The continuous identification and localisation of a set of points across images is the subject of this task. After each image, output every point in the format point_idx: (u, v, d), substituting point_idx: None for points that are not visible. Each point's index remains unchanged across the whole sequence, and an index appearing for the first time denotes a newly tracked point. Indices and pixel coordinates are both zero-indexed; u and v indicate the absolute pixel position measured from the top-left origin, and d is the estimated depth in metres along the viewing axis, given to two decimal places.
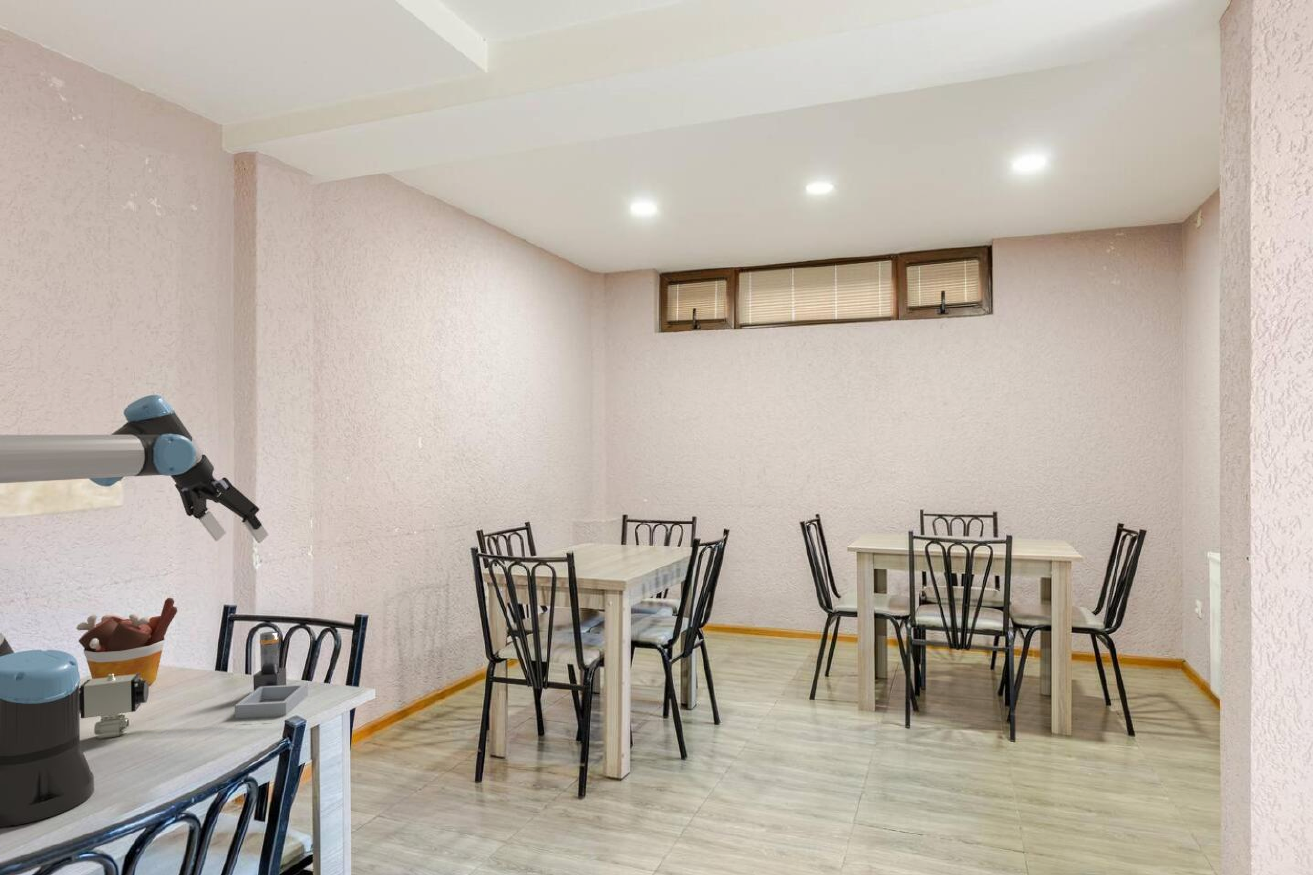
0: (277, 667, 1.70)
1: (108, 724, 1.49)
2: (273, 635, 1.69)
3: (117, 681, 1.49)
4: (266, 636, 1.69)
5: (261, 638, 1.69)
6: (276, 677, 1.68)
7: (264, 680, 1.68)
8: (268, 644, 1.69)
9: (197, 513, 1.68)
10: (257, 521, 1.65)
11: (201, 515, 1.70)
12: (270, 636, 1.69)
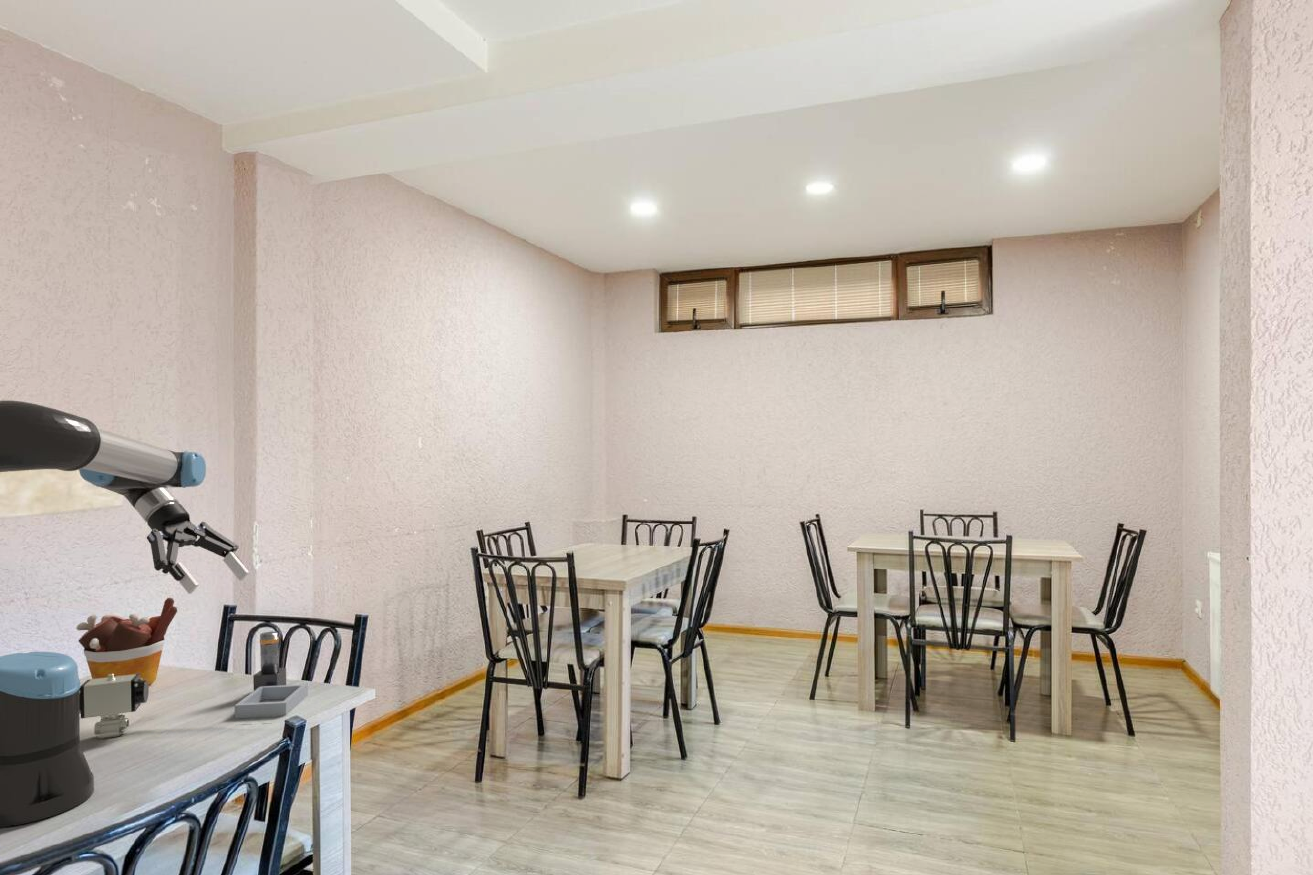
0: (277, 667, 1.70)
1: (108, 724, 1.49)
2: (273, 635, 1.69)
3: (117, 681, 1.49)
4: (266, 636, 1.69)
5: (261, 638, 1.69)
6: (276, 677, 1.68)
7: (264, 680, 1.68)
8: (268, 644, 1.69)
9: (175, 557, 1.62)
10: None
11: None
12: (270, 636, 1.69)
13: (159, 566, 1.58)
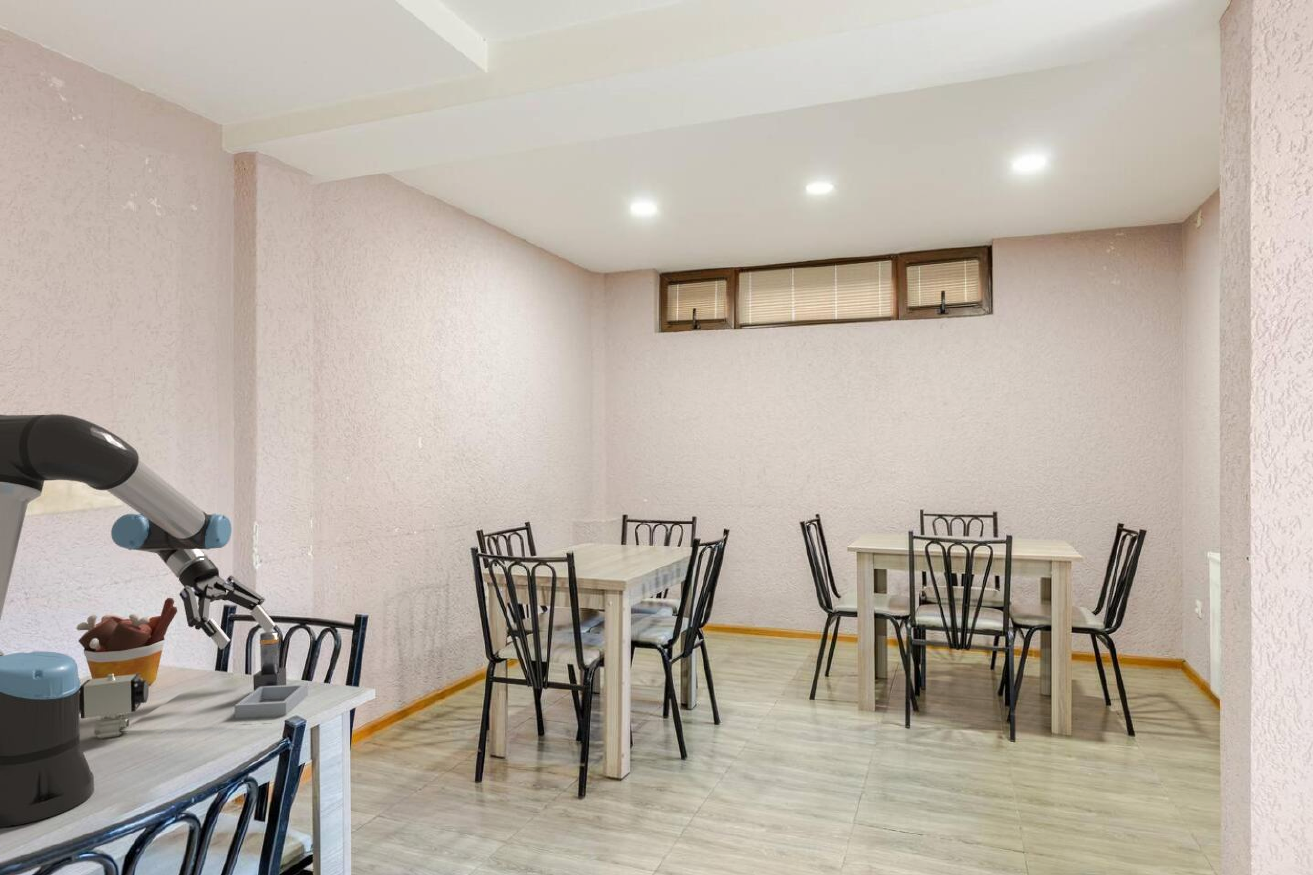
0: (277, 667, 1.70)
1: (108, 724, 1.49)
2: (273, 635, 1.69)
3: (117, 681, 1.49)
4: (266, 636, 1.69)
5: (261, 638, 1.69)
6: (276, 677, 1.68)
7: (264, 680, 1.68)
8: (268, 644, 1.69)
9: (207, 613, 1.68)
10: None
11: None
12: (270, 636, 1.69)
13: (192, 623, 1.65)
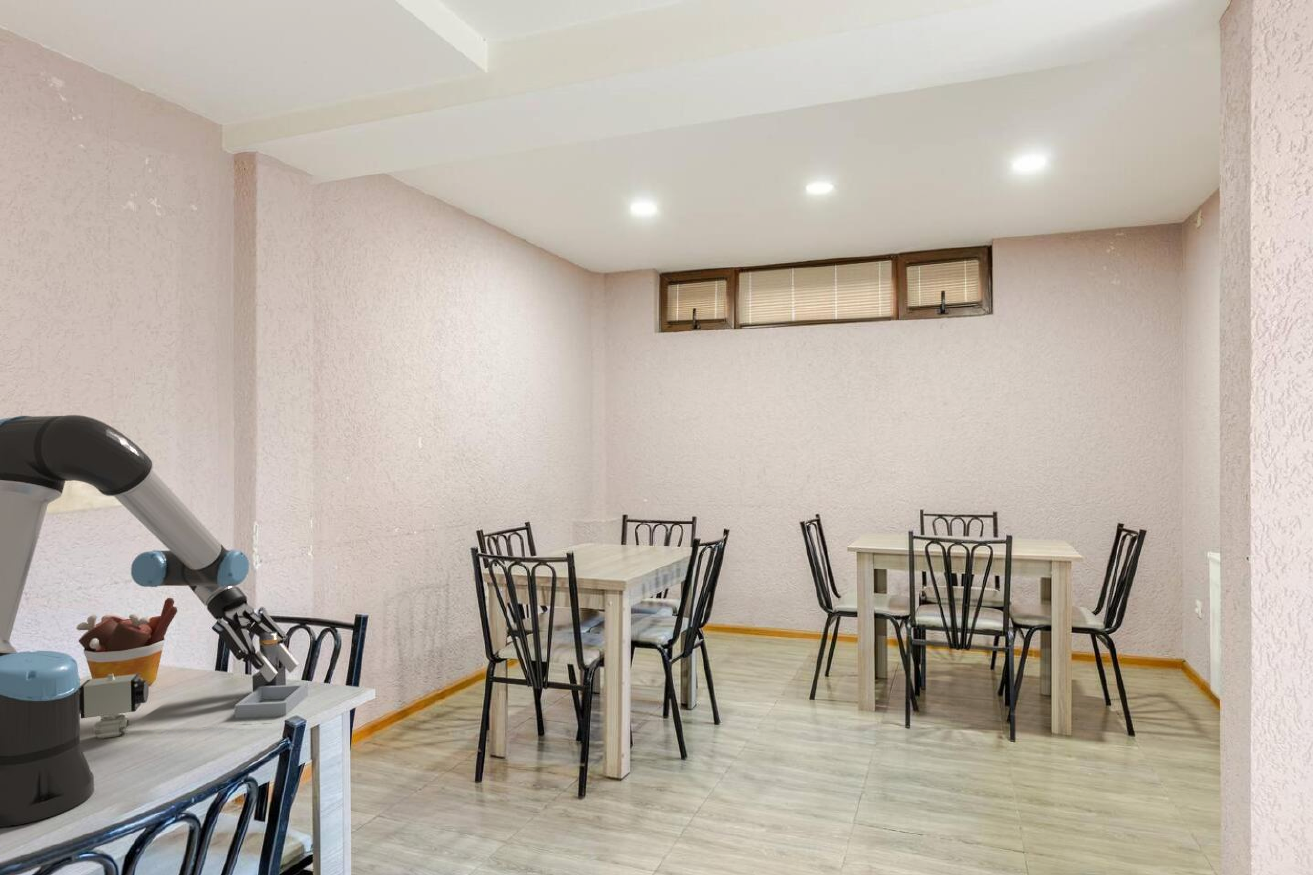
0: (276, 668, 1.70)
1: (108, 724, 1.49)
2: (272, 635, 1.69)
3: (117, 681, 1.49)
4: (265, 636, 1.68)
5: (260, 638, 1.69)
6: (275, 677, 1.68)
7: (263, 680, 1.68)
8: (267, 644, 1.68)
9: (252, 644, 1.67)
10: None
11: None
12: (269, 636, 1.69)
13: (242, 656, 1.65)
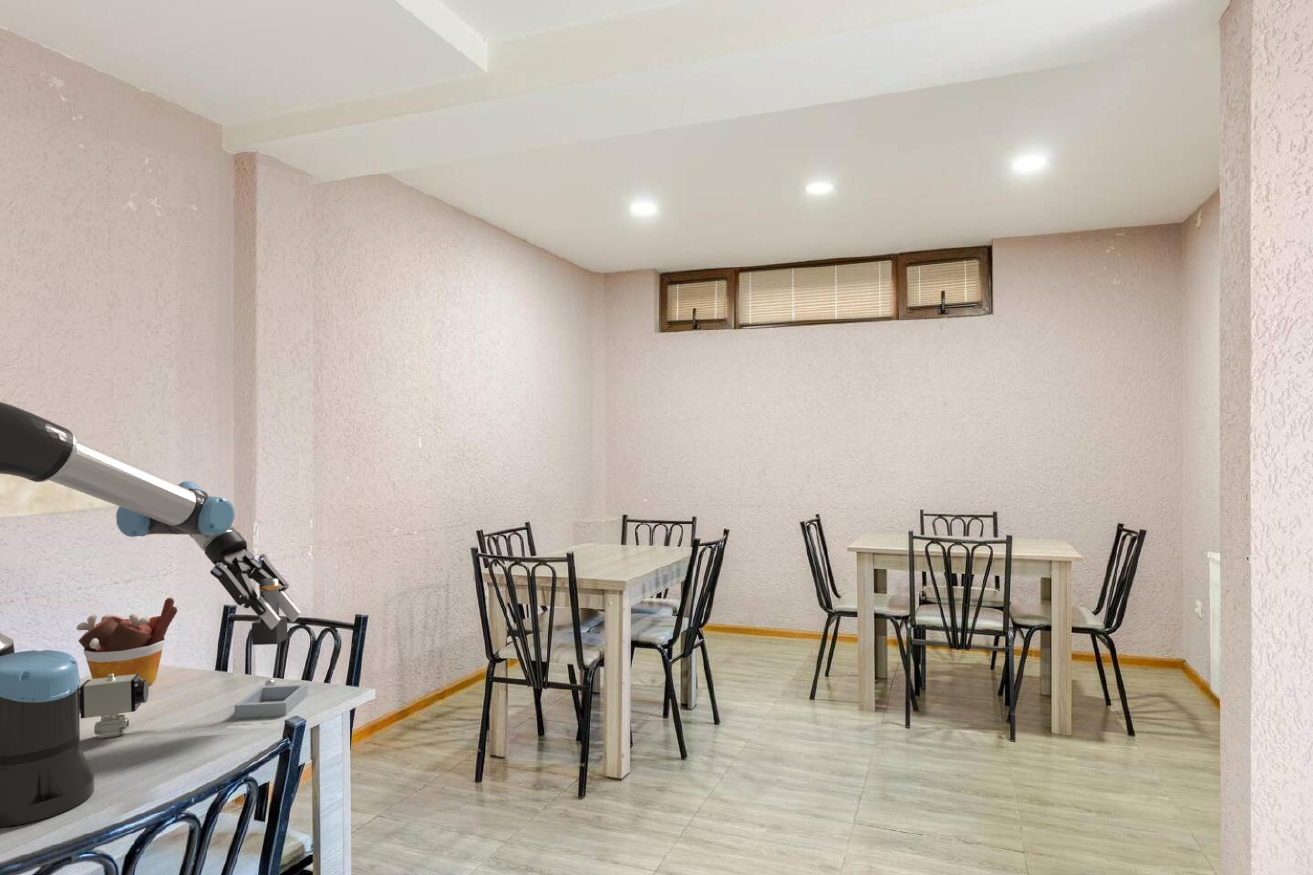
0: None
1: (108, 724, 1.49)
2: (273, 581, 1.59)
3: (117, 681, 1.49)
4: (265, 582, 1.59)
5: (260, 584, 1.59)
6: (276, 625, 1.58)
7: (263, 628, 1.58)
8: (268, 590, 1.59)
9: (253, 590, 1.58)
10: None
11: None
12: (270, 582, 1.59)
13: (243, 601, 1.56)
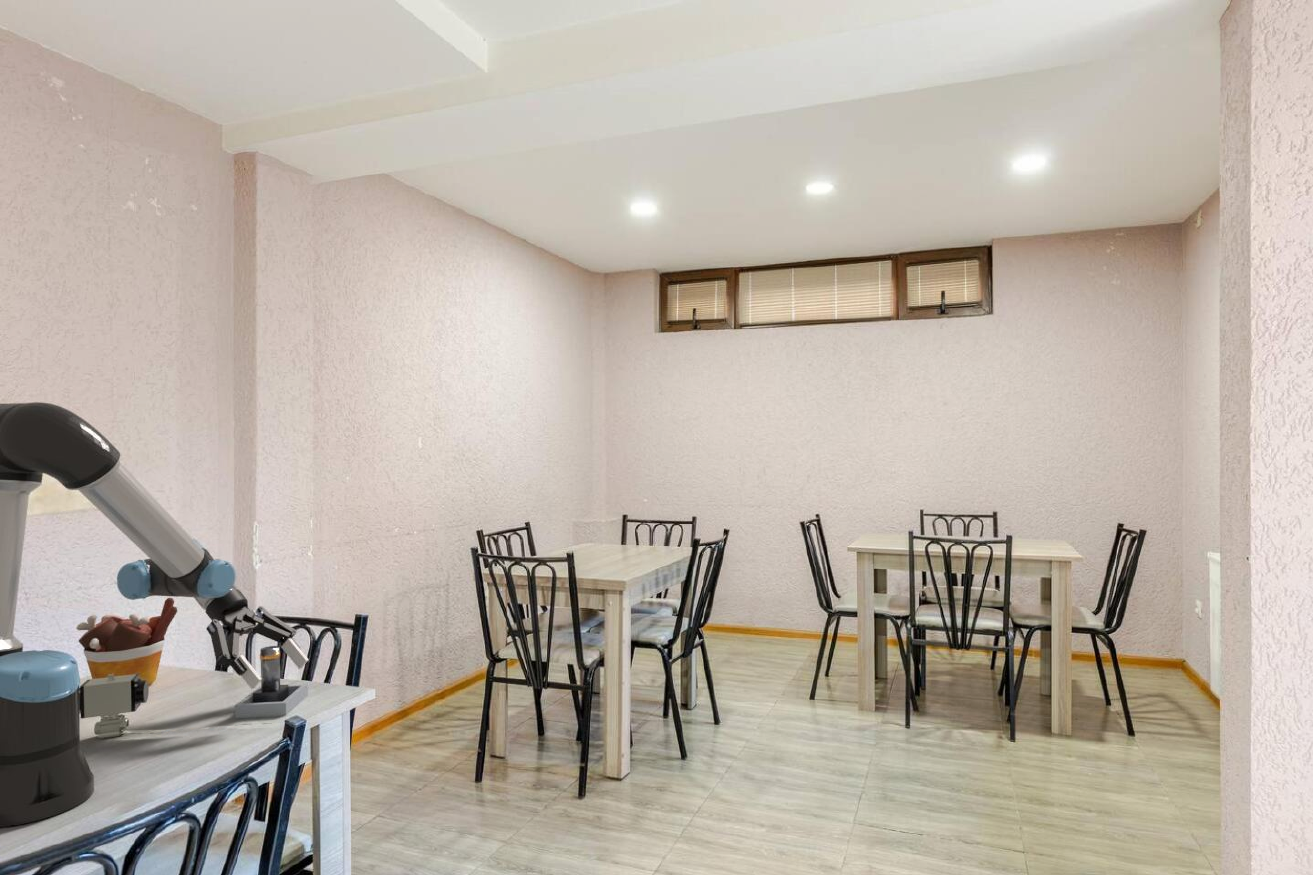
0: (278, 684, 1.60)
1: (108, 724, 1.49)
2: (273, 650, 1.59)
3: (117, 681, 1.49)
4: (266, 651, 1.59)
5: (261, 653, 1.59)
6: (276, 695, 1.58)
7: (264, 698, 1.58)
8: (268, 659, 1.59)
9: (237, 649, 1.55)
10: None
11: None
12: (270, 651, 1.59)
13: (221, 661, 1.52)
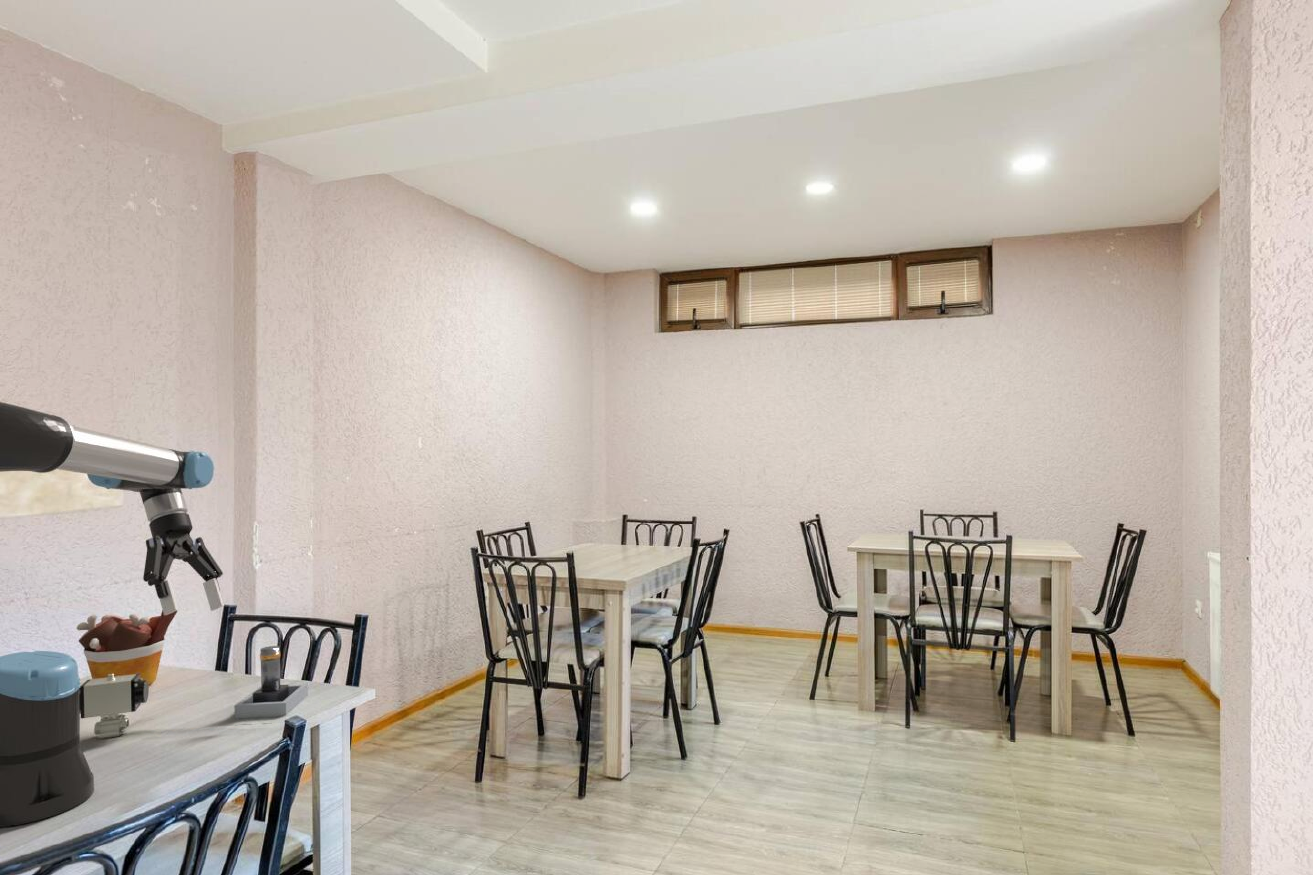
0: (278, 684, 1.60)
1: (108, 724, 1.49)
2: (273, 650, 1.59)
3: (117, 681, 1.49)
4: (266, 651, 1.59)
5: (261, 653, 1.59)
6: (276, 695, 1.58)
7: (264, 698, 1.58)
8: (268, 659, 1.59)
9: (167, 572, 1.56)
10: None
11: None
12: (270, 651, 1.59)
13: (149, 578, 1.53)
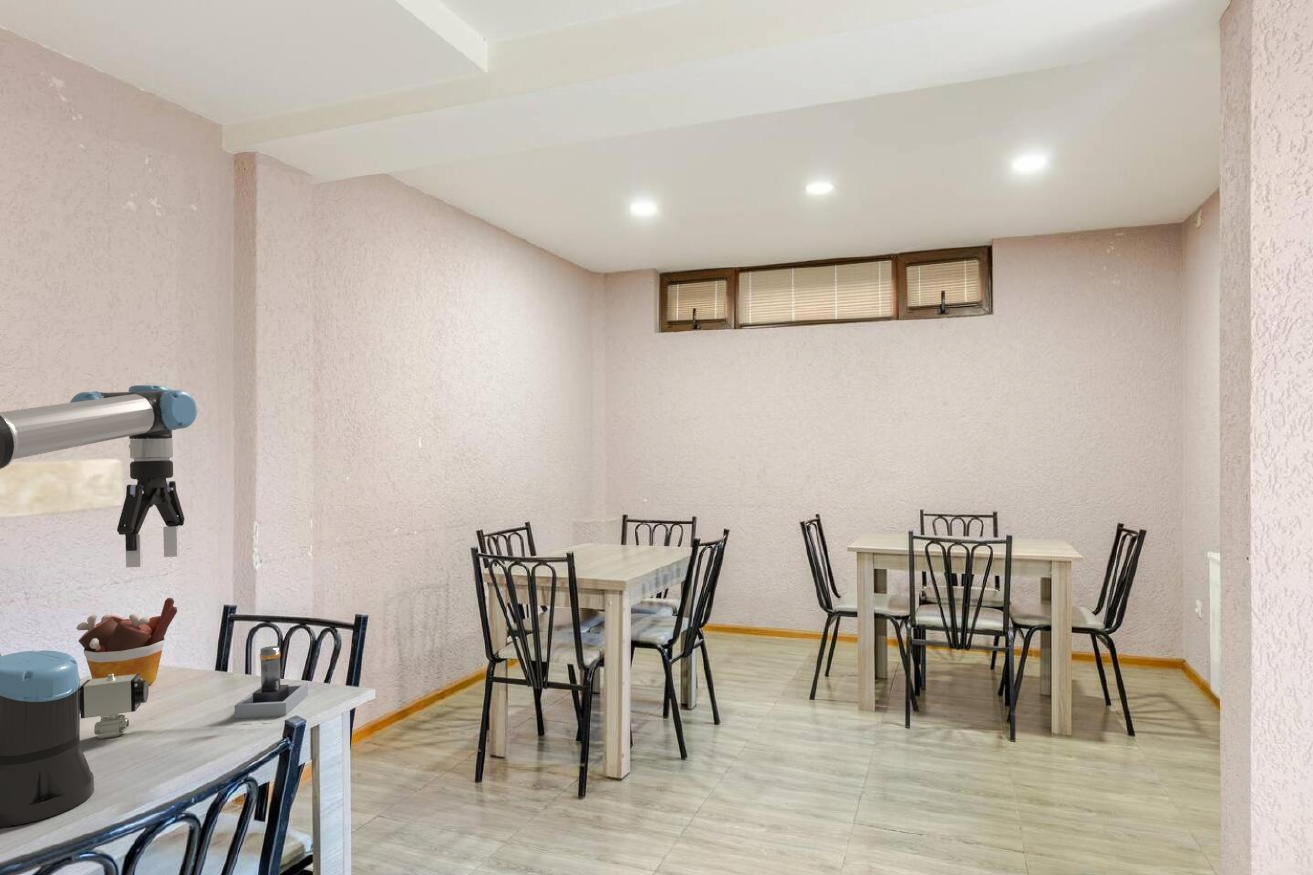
0: (278, 684, 1.60)
1: (108, 724, 1.49)
2: (273, 650, 1.59)
3: (117, 681, 1.49)
4: (266, 651, 1.59)
5: (261, 653, 1.59)
6: (276, 695, 1.58)
7: (264, 698, 1.58)
8: (268, 659, 1.59)
9: (140, 525, 1.53)
10: None
11: None
12: (270, 651, 1.59)
13: (123, 531, 1.49)
